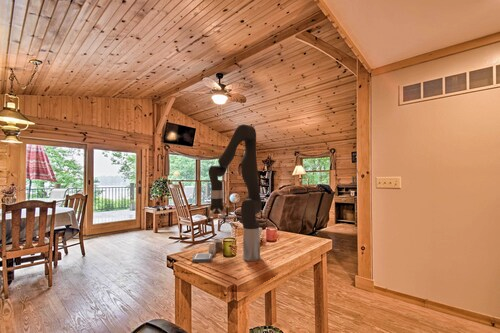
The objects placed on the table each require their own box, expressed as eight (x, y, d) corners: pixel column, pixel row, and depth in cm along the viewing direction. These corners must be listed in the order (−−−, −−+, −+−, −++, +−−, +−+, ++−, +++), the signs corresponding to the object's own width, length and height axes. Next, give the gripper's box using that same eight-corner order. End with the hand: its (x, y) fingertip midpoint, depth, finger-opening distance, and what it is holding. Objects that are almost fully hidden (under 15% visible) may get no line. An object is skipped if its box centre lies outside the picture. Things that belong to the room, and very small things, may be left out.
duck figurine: (251, 247, 164) (258, 235, 159) (245, 238, 169) (252, 227, 164) (264, 243, 172) (271, 232, 167) (258, 235, 177) (265, 224, 172)
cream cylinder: (215, 252, 147) (215, 242, 148) (215, 254, 143) (215, 244, 144) (209, 252, 147) (209, 242, 147) (208, 254, 143) (208, 244, 143)
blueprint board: (213, 255, 141) (213, 252, 141) (210, 261, 131) (210, 258, 131) (195, 255, 141) (195, 253, 141) (192, 262, 131) (192, 259, 131)
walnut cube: (222, 248, 155) (222, 239, 155) (222, 251, 150) (222, 242, 150) (214, 248, 155) (214, 239, 155) (213, 251, 150) (213, 242, 150)
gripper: (228, 196, 157) (228, 222, 156) (206, 197, 156) (206, 222, 156) (228, 197, 149) (228, 224, 149) (204, 198, 149) (204, 225, 148)
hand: (217, 223), depth 152 cm, fingers open, 8 cm apart
